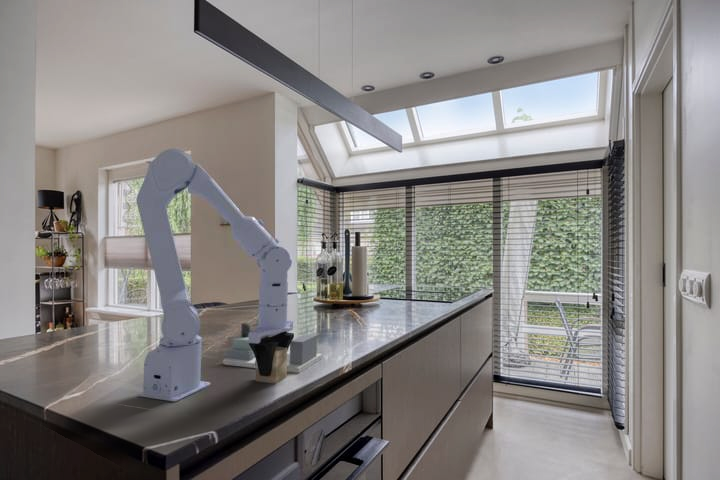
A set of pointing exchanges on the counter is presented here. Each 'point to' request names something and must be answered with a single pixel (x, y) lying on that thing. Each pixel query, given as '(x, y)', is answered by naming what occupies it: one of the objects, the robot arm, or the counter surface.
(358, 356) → the counter surface
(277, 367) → the block
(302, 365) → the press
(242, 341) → the mint block with peg
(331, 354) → the counter surface
